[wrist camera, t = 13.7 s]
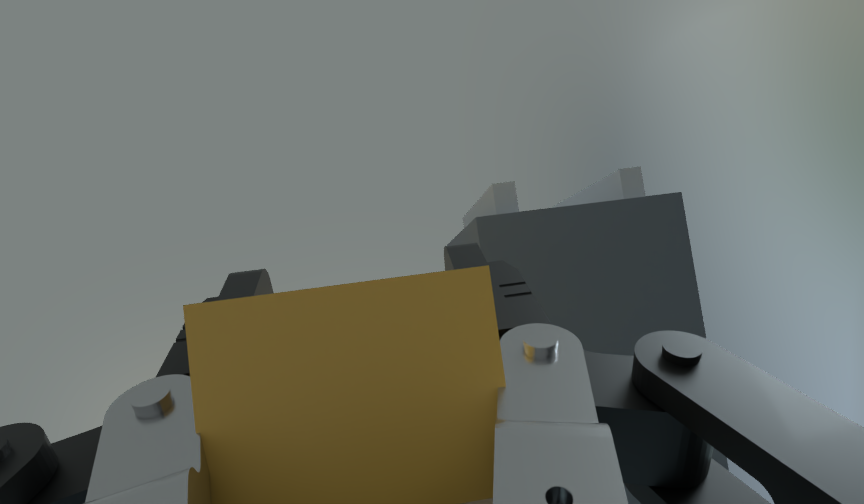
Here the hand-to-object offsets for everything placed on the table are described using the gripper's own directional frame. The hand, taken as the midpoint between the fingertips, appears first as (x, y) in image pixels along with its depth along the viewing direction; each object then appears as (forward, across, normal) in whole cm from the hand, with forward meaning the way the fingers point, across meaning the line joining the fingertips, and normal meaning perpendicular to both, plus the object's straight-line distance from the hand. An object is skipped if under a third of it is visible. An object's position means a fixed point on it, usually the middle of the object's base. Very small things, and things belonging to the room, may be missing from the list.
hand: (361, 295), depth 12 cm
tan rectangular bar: (+2, 0, +5) cm, 5 cm away
